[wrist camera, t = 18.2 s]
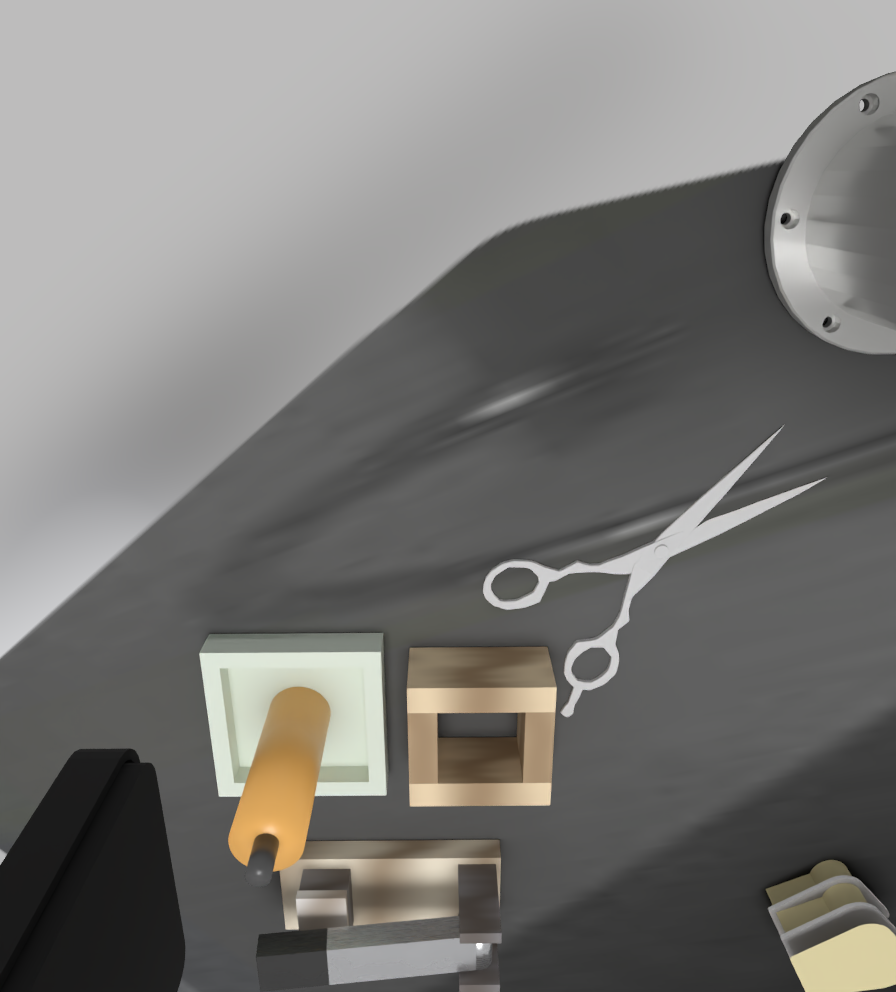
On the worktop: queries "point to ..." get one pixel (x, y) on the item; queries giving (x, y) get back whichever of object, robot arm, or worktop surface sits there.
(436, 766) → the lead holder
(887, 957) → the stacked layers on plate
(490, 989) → the base
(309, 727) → the plug
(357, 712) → the tray
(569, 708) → the scissors
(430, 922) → the lever
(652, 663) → the worktop surface
